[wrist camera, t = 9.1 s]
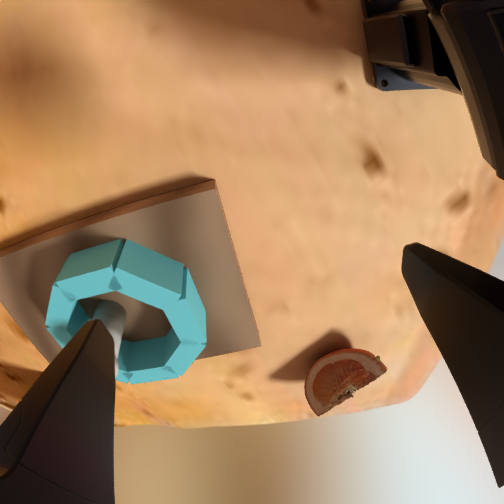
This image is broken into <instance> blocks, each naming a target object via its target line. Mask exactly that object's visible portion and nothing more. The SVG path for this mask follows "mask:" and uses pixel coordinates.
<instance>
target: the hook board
mask: <svg viewBox="0 0 504 504" xmlns="http://www.w3.org/2000/svg"><path fill="white" fill-rule="evenodd" d="M118 239H122V241H123V243H124V244H125V242H126V240H127V239H128V240H131V241H133V242H135V243H137V244H139V245H142V246H144V247H146V248H148V249H151V250H153V251H155V252H157V253H160V254H162V255H164V256H166V257H169V258H171V259H173V260H175V261H178V262H180V263H182V264H184V268H188V270H189V273H190V275H191V277H192V280H193V282H194V285H195V287H196V289H197V292H198V294H199V296H200V299H201V301H202V304H203V306H204V308H205V310H206V339H207V342H206V347H205V348H204V349H203V350H202V352H201V353H200V354H199V355H198V357H197V358H196V359H195V360H197V359H202V358H207V357H213V356H218V355H223V354H228V353H232V352H237V351H242V350H247V349H251V348H256V347H260V346H261V343H260V337H259V332H258V329H257V326H256V322H255V319H254V315H253V312H252V309H251V305H250V302H249V298H248V295H247V291H246V288H245V284H244V281H243V277H242V274H241V271H240V267H239V264H238V260H237V257H236V253H235V249H234V246H233V242H232V239H231V235H230V232H229V228H228V225H227V221H226V218H225V214H224V210H223V207H222V203H221V200H220V196H219V192H218V189H217V185H216V182H215V180H211V181H207V182H203V183H200V184H196V185H192V186H188V187H185V188H181V189H177V190H174V191H170V192H167V193H163V194H160V195H156V196H153V197H150V198H146V199H143V200H140V201H136V202H133V203H130V204H127V205H123V206H120V207H117V208H114V209H111V210H108V211H105V212H102V213H99V214H96V215H93V216H90V217H87V218H84V219H81V220H78V221H75V222H72V223H69V224H67V225H64V226H61V227H58V228H56V229H53V230H50V231H47V232H45V233H42V234H39V235H37V236H34V237H32V238H29V239H26V240H24V241H21V242H19V243H16V244H14V245H11V246H9V247H6V248H4V249H1V250H0V302H1V303H2V304H3V306H4V307H5V309H6V310H7V311H8V313H9V314H10V315H11V317H12V318H13V319H14V321H15V322H16V323H17V325H18V326H19V327H20V328H21V330H22V331H23V332H24V334H25V335H26V336H27V337H28V338H29V340H30V341H31V342H32V343H33V345H34V346H35V347H36V348H37V349H38V350H39V352H40V353H41V354H42V355H43V356H44V357H45V358H46V360H47V361H48V362H49V363H51V362H52V361H53V359H54V358H55V357H56V356H57V355H58V354H59V352H60V351H61V350H62V349H63V348H62V347H61V346H60V345H59V343H58V342H57V341H56V340H55V339H54V337H53V336H52V335H51V334H50V332H49V331H48V330H47V325H45V322H46V316H47V311H48V306H49V301H50V296H51V291H52V287H53V284H54V282H55V280H56V278H57V276H58V274H59V272H60V271H61V269H62V267H63V265H64V263H65V261H66V260H67V258H68V257H69V256H70V255H71V254H72V253H75V252H78V251H82V250H85V249H88V248H91V247H95V246H98V245H101V244H104V243H108V242H111V241H114V240H118ZM184 268H183V269H184ZM78 302H79V303H80V305H81V306H82V308H83V309H84V311H85V312H86V314H87V315H88V317H89V318H90V320H92V319H100V320H101V321H102V322H103V323H104V325H105V326H106V328H107V329H108V331H109V332H110V333H111V335H112V337H113V339H114V343H115V378H116V376H117V374H118V369H119V365H118V360H117V359H118V354H119V348H120V344H121V339H124V340H127V341H130V342H137V341H142V340H148V339H153V338H158V337H163V336H167V334H168V333H169V331H170V330H171V328H172V325H171V324H170V322H169V320H168V318H167V316H166V314H165V313H164V311H163V310H162V309H159V308H157V307H154V306H152V305H149V304H147V303H144V302H142V301H139V300H137V299H134V298H132V297H129V296H127V295H125V294H122V293H120V292H118V291H112V292H108V293H104V294H99V295H95V296H91V297H87V298H83V299H79V300H78Z"/></svg>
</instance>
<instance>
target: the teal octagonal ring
mask: <svg viewBox="0 0 504 504" xmlns="http://www.w3.org/2000/svg"><path fill="white" fill-rule="evenodd" d="M183 268H184V264H182V263H180V262H178V261H175V260H173V259H171V258H169V257H166V256H164V255H162V254H160V253H157V252H155V251H153V250H151V249H148V248H146V247H144V246H142V245H139V244H137V243H135V242H133V241H131V240H128V239H127V240H126V242H125V244H124V243H123V241H122V239H118V240H114V241H111V242H108V243H104V244H101V245H98V246H95V247H91V248H88V249H85V250H82V251H78V252H75V253H72V254H71V255H70V256H69V257H68V258H67V260H66V261H65V263H64V265H63V267H62V269H61V271H60V272H59V274H58V276H57V278H56V280H55V282H54V284H53V287H52V291H51V296H50V301H49V306H48V311H47V316H46V322H45V325H47V330H48V331H49V332H50V334H51V335H52V336H53V337H54V339H55V340H56V341H57V342H58V343H59V345H60V346H61V347H62V348H64V347H65V345H66V344H67V343H68V342H69V341H70V340H71V338H72V337H73V336H74V335H75V334H76V333H77V332H78V330H79V329H80V328H81V327H82V326H83V325H84V324H85V323H86V322H87V321H88V320H90V318H89V317H88V315H87V314H86V312H85V311H84V309H83V308H82V306H81V305H80V303H79V302H78V300H79V299H83V298H87V297H91V296H95V295H99V294H104V293H108V292H112V291H118V292H120V293H122V294H125V295H127V296H129V297H132V298H134V299H137V300H139V301H142V302H144V303H147V304H149V305H152V306H154V307H157V308H159V309H162V310H163V311H164V313H165V314H166V316H167V318H168V320H169V322H170V324H171V325H172V328H171V330H170V331H169V333H168V334H167V336H163V337H158V338H153V339H148V340H142V341H137V342H130V341H127V340H124V339H121V344H120V348H119V354H118V359H117V360H118V365H119V369H118V374H117V376H116V378H115V380H118V381H121V382H124V383H128V381H129V382H130V383H131V384H137V383H145V382H152V381H159V380H166V379H172V378H178V375H180V376H182V375H183V374H184V372H185V371H186V370H187V369H188V368H189V366H190V365H191V364H192V363H193V361H194V360H195V359H196V358H197V357H198V355H199V354H200V353H201V352H202V350H203V349H204V348H205V347H206V342H207V339H206V310H205V308H204V306H203V304H202V301H201V299H200V296H199V294H198V292H197V289H196V287H195V285H194V282H193V280H192V277H191V275H190V273H189V270H188V268H184V269H183Z"/></svg>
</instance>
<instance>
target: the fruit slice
mask: <svg viewBox="0 0 504 504" xmlns="http://www.w3.org/2000/svg"><path fill="white" fill-rule="evenodd" d="M386 371H387V368H386V366H385V365H384V364H383V363H382V362H381V360H380V356H377V357H375V356H374V355H373V354H372V353H370V352H369V351H366V350H361V349H341V350H337V351H333V352H331V353H329V354H327V355H325V356H323V357H321V358H320V359H319V360H317V361H316V362H315V363H314V365H313V366H312V367H311V369H310V370H309V372H308V374H307V377H306V381H305V387H304V388H305V396H306V399H307V401H308V403H309V405H310V407H311V409H312V410H313V411H314V413H315V414H316V415H317V416H320V415H322V414H324V413H326V412H327V411H329V410H330V409H332V408H333V407H334V406H336V405H339V404H341V403H342V402H343V401H345V400H346V399H349V398H350V397H353V395H352V394H353V393H354V392H355V391H356V390H359V389H360V388H363V387H364V386H365V385H368V384H369V383H370V382H372V381H374V380H376V378H379V377H380V376H381V375H382V374H384V373H385V372H386Z"/></svg>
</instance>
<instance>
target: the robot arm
mask: <svg viewBox="0 0 504 504" xmlns="http://www.w3.org/2000/svg"><path fill="white" fill-rule="evenodd" d="M361 3H362V8H363V13H364V18H365V20H364V22H363V25H364V31H365V37H366V43H367V49H368V55H369V60H370V61H371V62H372V66H373V74H374V82H375V86H376V87H377V88H378V89H379V90H382V91H393V90H411V89H442V90H446V91H449V92H453V93H456V94H460V95H463V96H464V99H465V102H466V105H467V108H468V111H469V114H470V117H471V120H472V123H473V127H474V130H475V133H476V137H477V140H478V144H479V147H480V150H481V153H482V156H483V158H484V159H485V160H486V161H487V162H488V163H489V164H490V165H491V166H492V168H494V169H495V170H496V175H497V176H498V177H499V178H501V179H503V180H504V0H372V2H369V1H368V0H361ZM382 80H384V81H385V85H384V86H382V85H381V81H382ZM401 269H402V274H403V277H404V279H405V281H406V284H407V286H408V288H409V290H410V292H411V295H412V297H413V299H414V301H415V304H416V306H417V308H418V311H419V313H420V315H421V317H422V319H423V321H424V323H425V324H426V326H427V328H428V330H429V332H430V334H431V335H432V337H433V339H434V341H435V343H436V345H437V347H438V348H439V350H440V352H441V354H442V356H443V358H444V360H445V362H446V364H447V366H448V368H449V370H450V372H451V374H452V376H453V378H454V380H455V382H456V384H457V386H458V388H459V390H460V393H461V395H462V397H463V399H464V401H465V404H466V406H467V408H468V410H469V413H470V415H471V417H472V419H473V422H474V424H475V426H476V429H477V431H478V434H479V436H480V439H481V442H482V444H483V446H484V449H485V452H486V454H487V457H488V460H489V462H490V465H491V468H492V471H493V473H494V476H495V479H496V482H497V485H498V487H499V488H500V487H502V486H504V281H502V280H500V279H498V278H496V277H494V276H491V275H490V274H487V273H485V272H483V271H481V270H479V269H477V268H475V267H472V266H470V265H468V264H466V263H464V262H461V261H459V260H457V259H455V258H452V257H450V256H448V255H446V254H443V253H441V252H439V251H436V250H434V249H432V248H429V247H427V246H425V245H422V244H420V243H417V242H415V243H411V244H408V245H406V246H404V248H403V257H402V267H401ZM115 388H116V386H115V343H114V339H113V337H112V335H111V333H110V332H109V331H108V329H107V328H106V326H105V325H104V323H103V322H102V321H101V320H100V319H92V320H88V321H87V322H86V323H85V324H84V325H83V326H82V327H81V328H80V329H79V330H78V332H77V333H76V334H75V335H74V336H73V337H72V338H71V340H70V341H69V342H68V343H67V344H66V345H65V347H64V348H63V349H62V350H61V351H60V352H59V354H58V355H57V356H56V357H55V358H54V359H53V361H52V362H51V363H50V364H49V365H48V367H47V368H46V369H45V370H44V372H43V373H42V374H41V375H40V376H39V378H38V379H37V380H36V381H35V383H34V384H33V385H32V386H31V388H30V389H29V390H28V391H27V393H26V394H25V395H24V396H23V398H22V399H21V401H19V403H18V404H17V405H16V407H15V408H14V409H13V411H12V412H11V413H10V414H9V416H8V417H7V418H6V420H5V421H4V422H3V423H2V424H1V426H0V504H115V496H114V459H113V458H114V457H113V454H114V452H113V451H114V450H113V449H114V409H115Z"/></svg>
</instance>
